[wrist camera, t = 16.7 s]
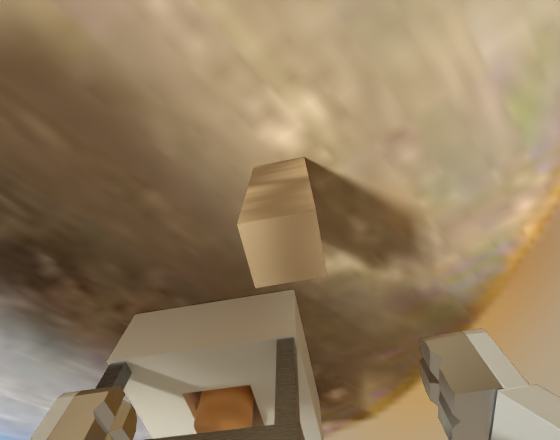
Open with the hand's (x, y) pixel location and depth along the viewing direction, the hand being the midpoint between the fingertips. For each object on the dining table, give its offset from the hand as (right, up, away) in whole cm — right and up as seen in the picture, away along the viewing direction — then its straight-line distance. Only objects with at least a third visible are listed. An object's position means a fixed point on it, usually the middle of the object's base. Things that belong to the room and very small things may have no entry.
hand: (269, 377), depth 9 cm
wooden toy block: (+1, +7, +14) cm, 16 cm away
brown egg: (-4, -9, +20) cm, 23 cm away
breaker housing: (-4, -9, +21) cm, 24 cm away
